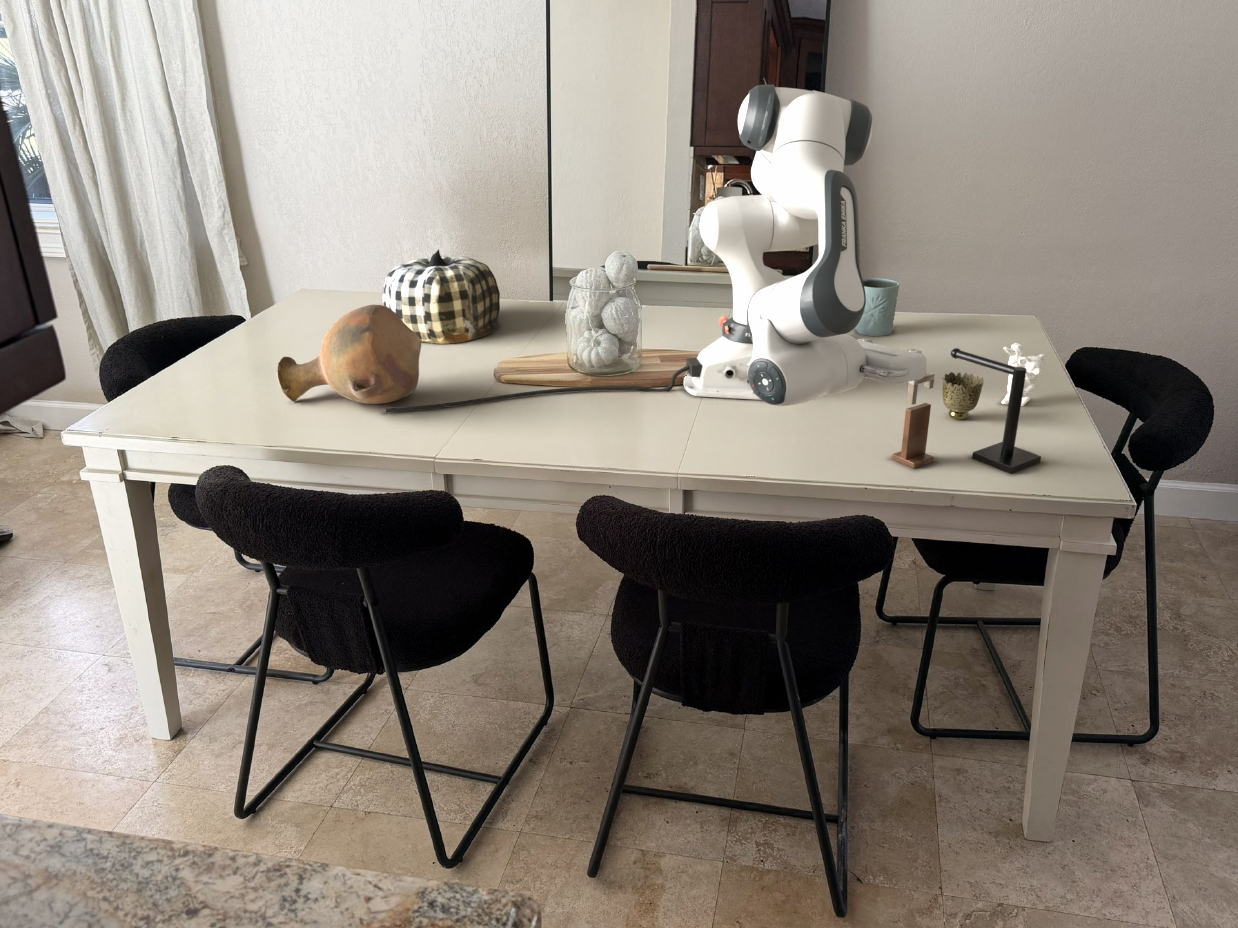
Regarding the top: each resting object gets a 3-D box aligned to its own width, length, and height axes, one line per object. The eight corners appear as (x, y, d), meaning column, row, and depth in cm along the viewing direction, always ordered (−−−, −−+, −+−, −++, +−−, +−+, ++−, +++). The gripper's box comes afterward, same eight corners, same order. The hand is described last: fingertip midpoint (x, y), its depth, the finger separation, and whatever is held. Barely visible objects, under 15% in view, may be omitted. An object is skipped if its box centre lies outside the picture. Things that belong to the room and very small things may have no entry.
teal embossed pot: (898, 337, 242) (903, 287, 237) (856, 337, 242) (860, 288, 237) (889, 325, 251) (893, 277, 246) (848, 325, 251) (852, 277, 246)
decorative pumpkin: (390, 315, 266) (382, 238, 257) (501, 310, 268) (496, 234, 260) (378, 348, 239) (368, 264, 231) (501, 343, 242) (496, 259, 233)
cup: (972, 427, 189) (978, 387, 186) (933, 420, 192) (937, 380, 189) (982, 414, 195) (988, 375, 191) (944, 408, 198) (948, 369, 195)
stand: (1011, 473, 170) (1026, 378, 163) (926, 440, 183) (937, 351, 177) (1040, 462, 174) (1056, 369, 167) (955, 430, 187) (967, 343, 181)
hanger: (913, 468, 172) (923, 382, 166) (891, 459, 176) (900, 374, 170) (933, 461, 175) (944, 376, 168) (911, 452, 179) (920, 369, 172)
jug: (447, 390, 211) (318, 406, 218) (430, 296, 208) (300, 315, 215) (406, 405, 192) (267, 422, 199) (387, 302, 188) (246, 322, 195)
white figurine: (1000, 408, 198) (1009, 349, 193) (989, 396, 204) (998, 338, 199) (1043, 408, 198) (1053, 349, 193) (1032, 396, 204) (1041, 338, 199)
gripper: (895, 356, 145) (951, 341, 153) (787, 331, 159) (843, 319, 168) (891, 398, 147) (946, 381, 155) (785, 370, 162) (841, 356, 170)
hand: (892, 349), depth 161 cm, fingers open, 8 cm apart
